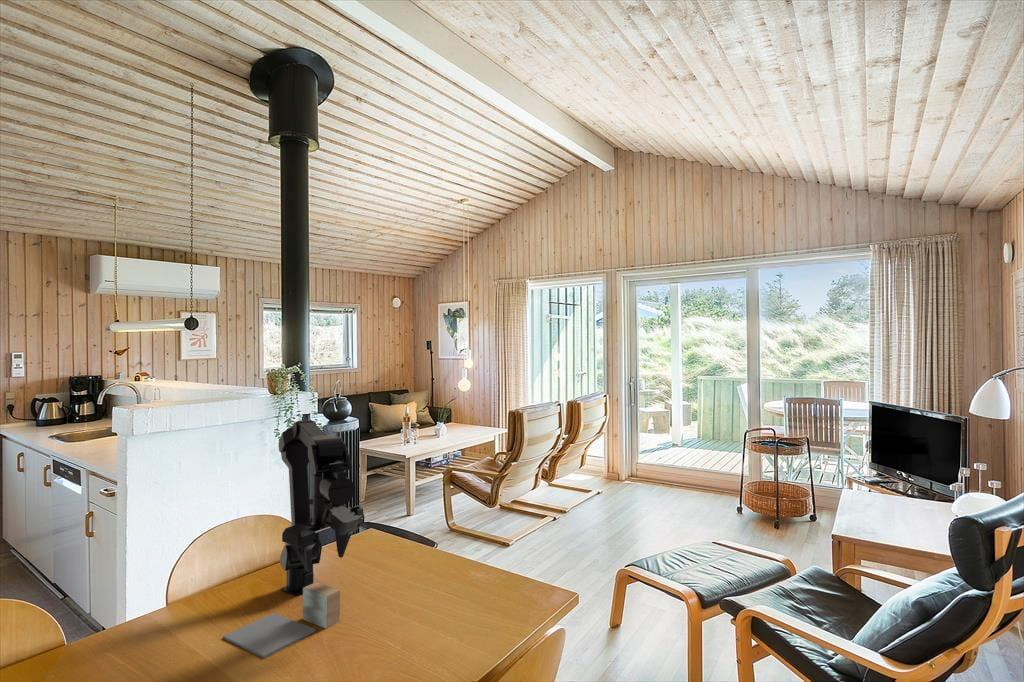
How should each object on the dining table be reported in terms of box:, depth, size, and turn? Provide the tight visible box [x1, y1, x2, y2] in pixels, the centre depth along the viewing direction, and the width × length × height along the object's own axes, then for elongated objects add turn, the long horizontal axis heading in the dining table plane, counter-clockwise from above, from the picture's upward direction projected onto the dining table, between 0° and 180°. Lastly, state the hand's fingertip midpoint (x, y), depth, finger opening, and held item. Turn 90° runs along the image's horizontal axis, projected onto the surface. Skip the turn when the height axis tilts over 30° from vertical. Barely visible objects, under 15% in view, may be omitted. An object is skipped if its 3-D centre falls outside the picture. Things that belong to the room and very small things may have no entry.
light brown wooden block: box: [301, 581, 341, 629], centre depth 120 cm, size 8×4×7 cm, turn 59°
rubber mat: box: [222, 612, 316, 659], centre depth 113 cm, size 14×12×1 cm
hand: (324, 563), depth 120 cm, fingers open, 9 cm apart
